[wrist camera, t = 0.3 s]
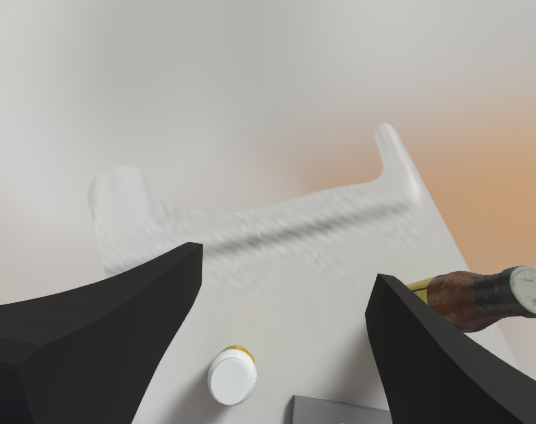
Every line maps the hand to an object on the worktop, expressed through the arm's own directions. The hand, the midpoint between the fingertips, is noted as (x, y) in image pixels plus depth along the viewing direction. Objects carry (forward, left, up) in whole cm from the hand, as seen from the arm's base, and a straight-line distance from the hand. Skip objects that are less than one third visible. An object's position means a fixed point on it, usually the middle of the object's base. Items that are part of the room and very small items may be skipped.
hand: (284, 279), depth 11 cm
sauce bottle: (+3, -21, -30) cm, 37 cm away
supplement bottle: (-8, +2, -30) cm, 31 cm away
